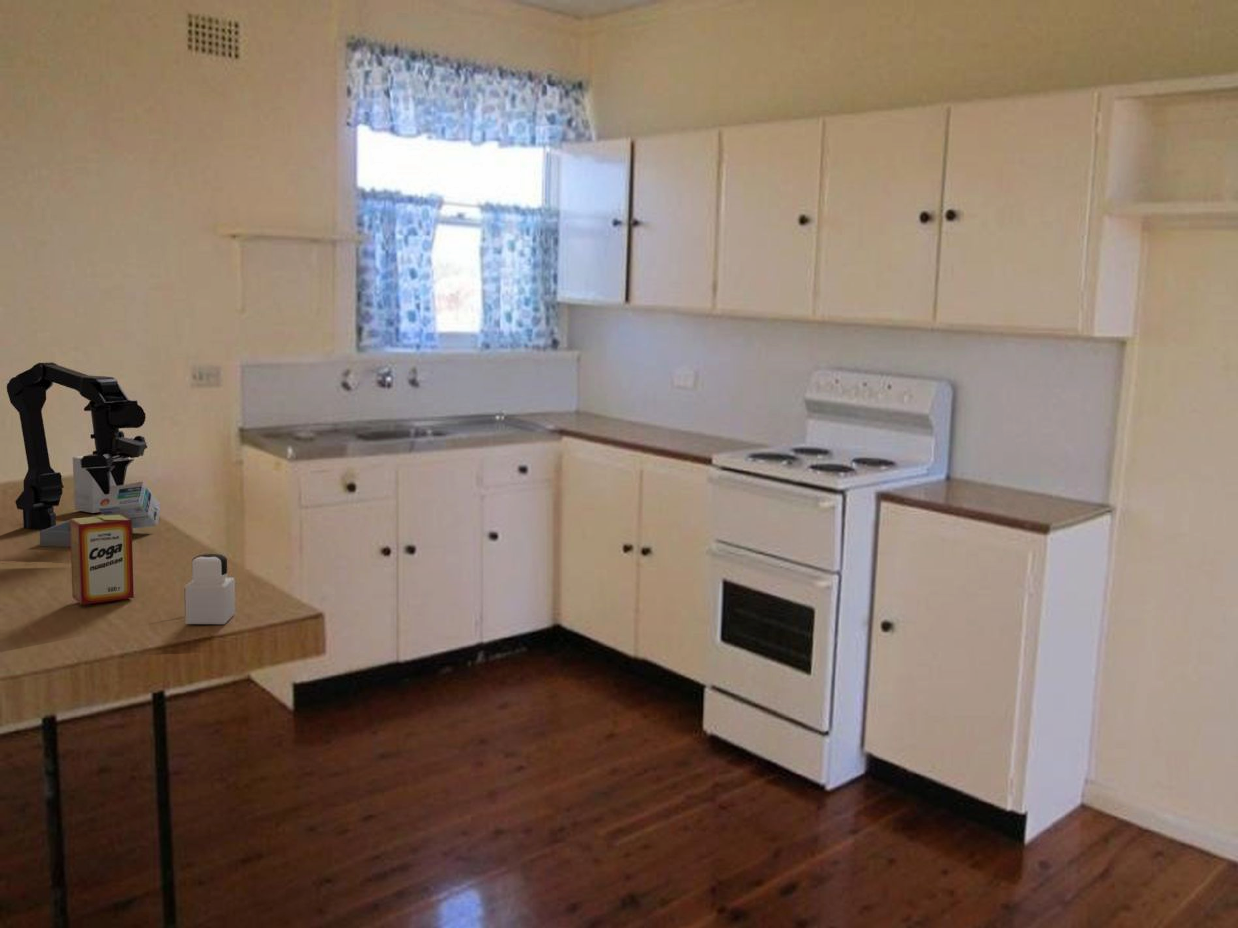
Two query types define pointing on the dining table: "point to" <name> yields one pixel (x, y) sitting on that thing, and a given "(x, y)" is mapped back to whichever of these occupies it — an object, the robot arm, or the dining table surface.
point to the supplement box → (86, 488)
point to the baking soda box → (101, 558)
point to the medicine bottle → (209, 591)
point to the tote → (58, 535)
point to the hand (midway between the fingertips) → (113, 491)
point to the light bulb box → (131, 504)
